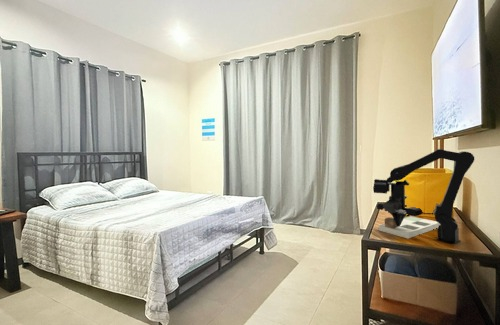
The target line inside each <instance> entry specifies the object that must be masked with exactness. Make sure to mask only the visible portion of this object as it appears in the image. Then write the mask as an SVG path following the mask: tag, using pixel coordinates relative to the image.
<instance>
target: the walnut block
mask: <svg viewBox="0 0 500 325" xmlns="http://www.w3.org/2000/svg"><path fill="white" fill-rule="evenodd" d="M384 224H385V227H388V228H392V229H393V228H396V227H397V225H396V223H395V220H394V218H393V217H386V218H384Z"/></svg>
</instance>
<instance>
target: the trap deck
mask: <svg viewBox="0 0 500 325" xmlns="http://www.w3.org/2000/svg"><path fill="white" fill-rule="evenodd" d="M439 225H441V224H440V223H438V222H437V221H436V220H431V219H426V218H421V217H418V216H411V215H410V216H406V217H404V219H403V221H402V223H401V225H400V227H396V228H393V229H392V228H388V227H385V223H383V224H382V223H381V224H378V225H377V226H378V231H380V232H384V233H387V234H391V235H394V236H398V237H401V238H405V239H411V238H413V237H416V236H419V234H420V235H422V234H425V233H427V232H428V233H429V232H430V231H434V230H437V229H438V227H439ZM436 228H437V229H436ZM433 229H434V230H433Z"/></svg>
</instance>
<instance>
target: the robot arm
mask: <svg viewBox="0 0 500 325" xmlns="http://www.w3.org/2000/svg"><path fill="white" fill-rule="evenodd" d="M440 159H444V160H448V161H451V162H453V171H452V174H451V177H450V179H449V182H448V185H447V188H446V190H445V193H444V196H443V198H442V200H441V202H440V203H435V208H434V209H433V215H434V221H436V222H438V223H440V225H439V228H437V229H436V230H437V233H436V234H437V235H436V236H437V237H436V241H441V242H444V243H448V244H452V245H455V244H457V243H460V242H461V240H462V239H460V238H459V237H460V236H459V235H460V232H459V231H460V230H459V229H460V228H459V225H458V222H457V221H456V219H455V218H454V217H453V211H454V210H453V209H454V204H455V201H456V199H457V195H458V193H459V190H460V187H461V185H462V182H463V180H464V177H465V174H466V173H467V172H468V171H469V169H470V168H471V166H472V165H473V163H474V162H475V155H474V154H473V153H471V152H469V151H459V152H457V151H452V150H444V149H441V148H438V149H437V148H436V149H435V150H434V151H432V152H430V153H429V154H425V155H424V156H421V157H420V158H418V159H415V160H414V161H412V162H410V163H408V164H403V165H400V166H397V167H394V168H393V169H392V170H391V171H390V172H389V173H390V174H389V175H390V176H389V177H387V178H386V179H377V178H375V179H374V180H373V182H374V183H373V187H372V189H373V190H372V191H373V194H388V193H389V192H390V195H389V197H388V200H387V201H386V202H384V201H383V202H379V203H377V204H376V209H377V210H380V211H383V210H384V211H385V212H387V213H388V214H389V215H391V216H392V218H394V220H395V223H396V225H397V227H400V225H401V223H402V221H403V219H404V218H406V217H407V216H406V214H408V215H410V216H412V217H418V216H421V215H423V213H422V210H421V209H420V208H416V207H415V206H412V207H411V206H410V207H409V208H405V207H407V205H405V199H406V198H407V196H408V195H407V196H405V195H406V186H410V182H408V181H407V179H405V178H406V177H407V176H408V175H409V176H410V174H411V173H413V172H414V171H417V170H419V169H420V168H423V167H425V166H427V165H429V164H431V163H433V162H436V161H437V160H440ZM403 179H404V180H403ZM402 180H403V181H402ZM394 181H395V182H394Z"/></svg>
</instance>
